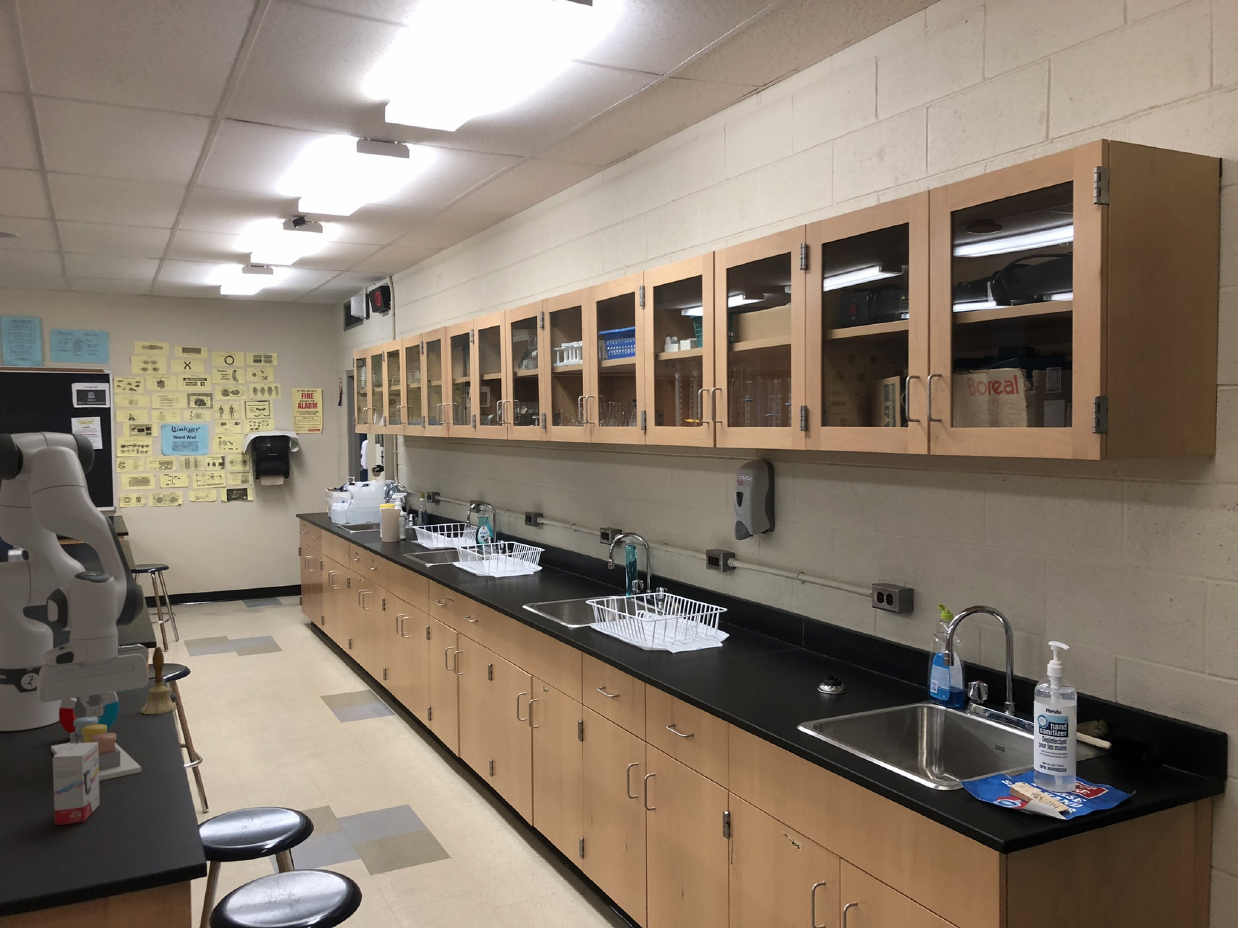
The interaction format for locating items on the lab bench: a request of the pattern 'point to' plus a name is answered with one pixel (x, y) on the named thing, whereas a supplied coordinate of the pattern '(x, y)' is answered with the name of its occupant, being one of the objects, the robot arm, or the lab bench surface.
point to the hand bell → (158, 689)
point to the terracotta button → (104, 742)
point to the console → (107, 760)
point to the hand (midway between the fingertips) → (94, 715)
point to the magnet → (107, 719)
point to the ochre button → (92, 731)
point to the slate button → (84, 724)
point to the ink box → (76, 782)
